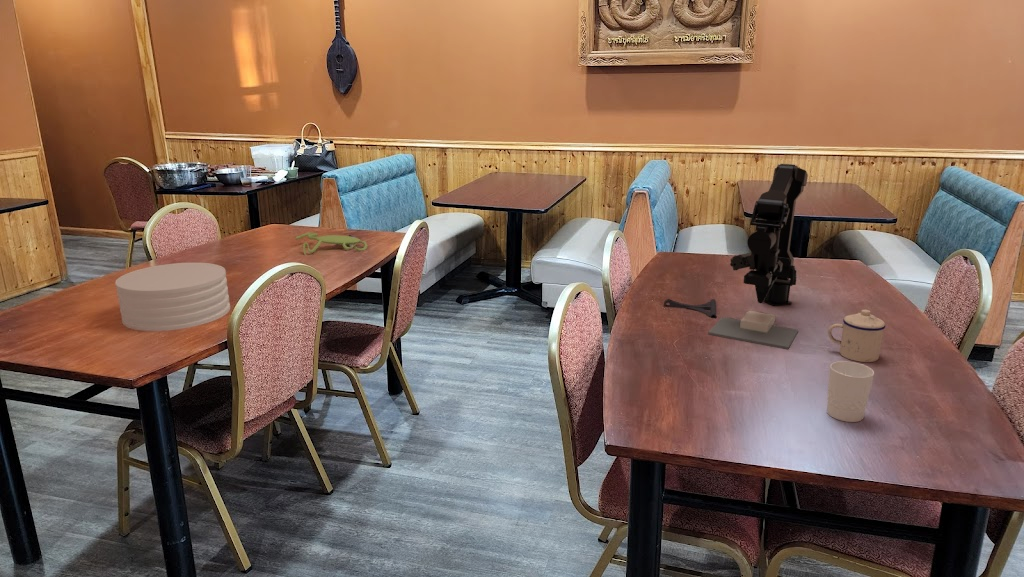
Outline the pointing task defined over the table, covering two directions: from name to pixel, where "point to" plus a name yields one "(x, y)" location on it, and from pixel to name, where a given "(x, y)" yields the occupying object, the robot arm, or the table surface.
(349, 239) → the figurine
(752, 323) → the tile
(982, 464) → the table surface
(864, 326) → the teacup with lid
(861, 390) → the white cup
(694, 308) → the bracket
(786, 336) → the mat
